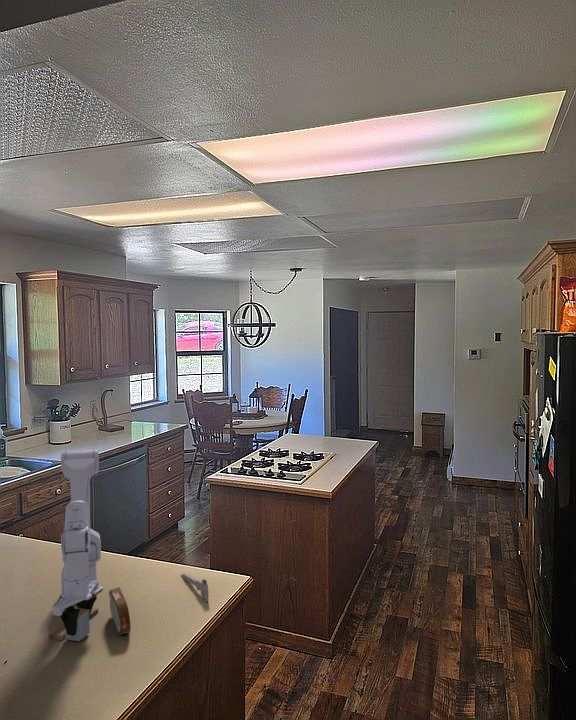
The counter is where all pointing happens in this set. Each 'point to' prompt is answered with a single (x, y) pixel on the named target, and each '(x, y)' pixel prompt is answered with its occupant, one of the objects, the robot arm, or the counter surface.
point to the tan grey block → (80, 626)
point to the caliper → (198, 585)
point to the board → (60, 631)
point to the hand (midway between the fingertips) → (77, 629)
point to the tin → (119, 611)
